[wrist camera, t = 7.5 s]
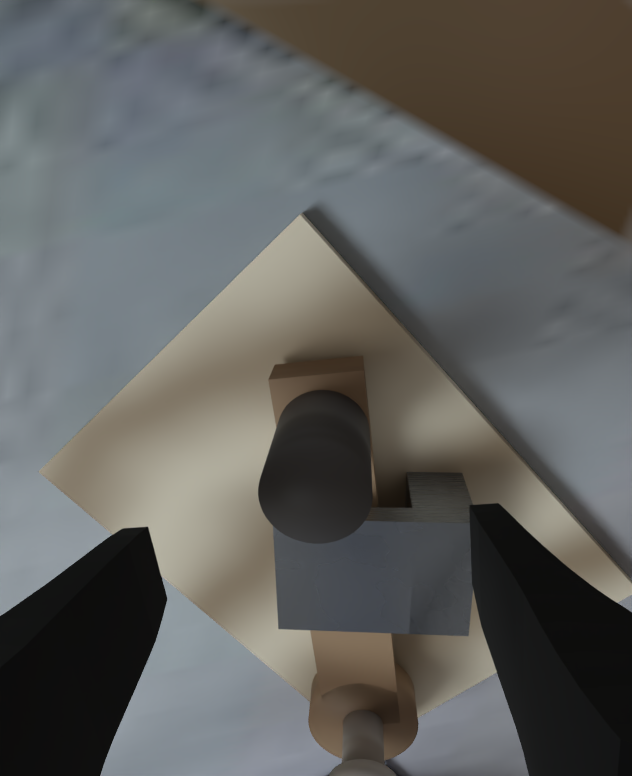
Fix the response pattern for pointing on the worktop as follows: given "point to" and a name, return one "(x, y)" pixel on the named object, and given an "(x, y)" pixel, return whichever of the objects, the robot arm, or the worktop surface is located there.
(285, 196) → the worktop surface
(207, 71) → the worktop surface
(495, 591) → the robot arm
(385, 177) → the worktop surface
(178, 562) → the latch board
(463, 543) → the keeper
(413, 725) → the link
